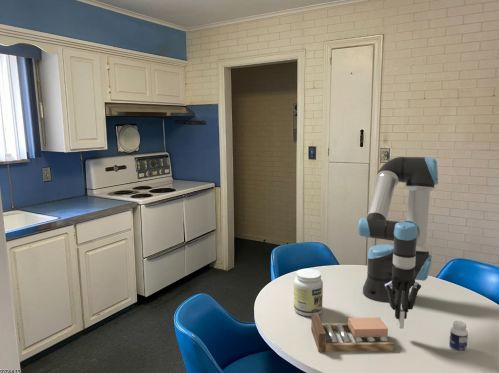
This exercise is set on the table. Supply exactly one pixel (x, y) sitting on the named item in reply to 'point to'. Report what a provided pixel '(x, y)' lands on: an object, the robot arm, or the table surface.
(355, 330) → the slab
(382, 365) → the table surface
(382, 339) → the roller bed
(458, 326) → the pill bottle
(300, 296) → the supplement tub
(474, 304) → the table surface
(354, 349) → the frame
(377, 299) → the robot arm
